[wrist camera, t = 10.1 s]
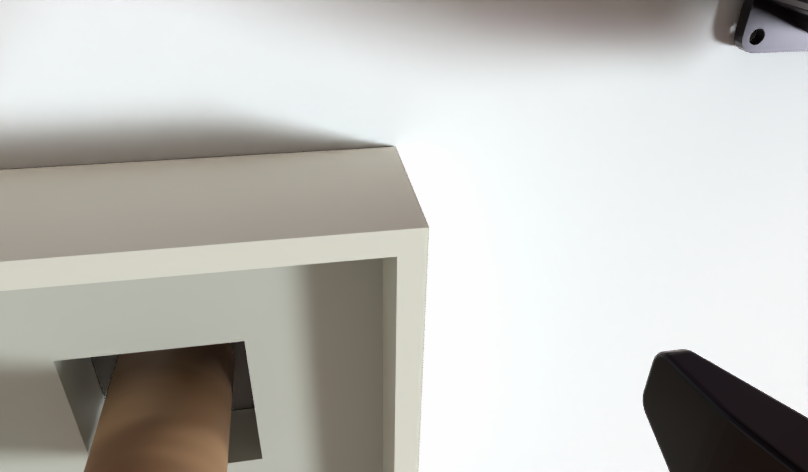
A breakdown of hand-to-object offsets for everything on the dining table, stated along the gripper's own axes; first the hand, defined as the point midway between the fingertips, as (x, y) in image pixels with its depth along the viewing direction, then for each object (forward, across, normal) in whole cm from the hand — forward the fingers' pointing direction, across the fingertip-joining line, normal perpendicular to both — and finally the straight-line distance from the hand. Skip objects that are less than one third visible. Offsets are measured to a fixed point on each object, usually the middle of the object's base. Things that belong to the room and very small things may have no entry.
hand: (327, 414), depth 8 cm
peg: (+12, +5, +10) cm, 17 cm away
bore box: (+12, +5, +10) cm, 17 cm away
